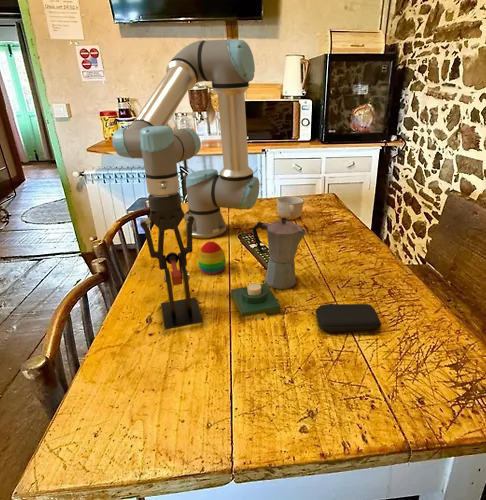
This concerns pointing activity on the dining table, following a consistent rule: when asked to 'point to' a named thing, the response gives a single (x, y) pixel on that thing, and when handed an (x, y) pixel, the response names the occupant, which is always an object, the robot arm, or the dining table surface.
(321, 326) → the carrying case
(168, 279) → the switch bracket
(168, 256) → the switch lever
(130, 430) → the dining table surface
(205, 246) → the decorative egg
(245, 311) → the control block
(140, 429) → the dining table surface
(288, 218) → the teacup
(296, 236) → the moka pot
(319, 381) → the dining table surface
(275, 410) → the dining table surface
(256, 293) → the button
